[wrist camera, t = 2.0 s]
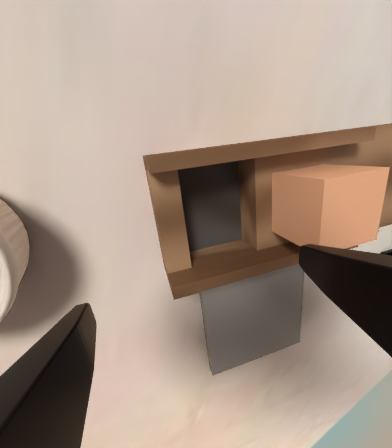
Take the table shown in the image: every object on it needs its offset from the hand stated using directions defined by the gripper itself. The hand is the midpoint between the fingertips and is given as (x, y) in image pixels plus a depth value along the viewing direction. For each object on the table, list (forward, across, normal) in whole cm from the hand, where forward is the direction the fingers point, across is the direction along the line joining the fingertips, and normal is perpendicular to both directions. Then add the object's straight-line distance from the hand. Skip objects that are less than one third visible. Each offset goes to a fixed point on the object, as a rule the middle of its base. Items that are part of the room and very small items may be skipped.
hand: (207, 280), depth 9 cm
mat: (+11, -8, +14) cm, 19 cm away
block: (+8, -11, 0) cm, 13 cm away
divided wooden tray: (+11, -11, 0) cm, 16 cm away
